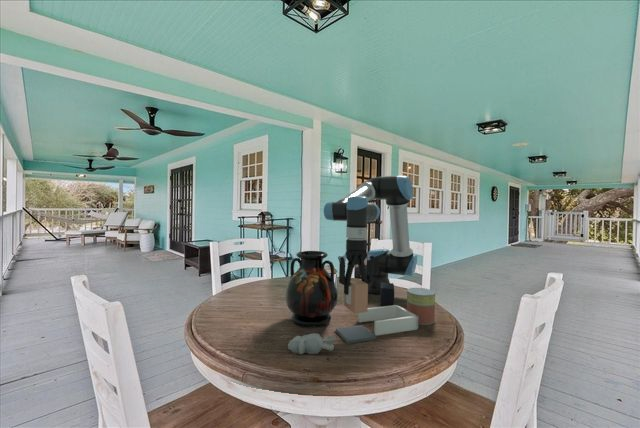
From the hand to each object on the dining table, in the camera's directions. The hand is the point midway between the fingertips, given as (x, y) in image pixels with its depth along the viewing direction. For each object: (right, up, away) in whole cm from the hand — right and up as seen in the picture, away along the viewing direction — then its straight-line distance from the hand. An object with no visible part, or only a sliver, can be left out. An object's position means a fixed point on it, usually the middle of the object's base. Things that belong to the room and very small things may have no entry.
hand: (355, 302), depth 111 cm
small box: (+19, -12, +32) cm, 39 cm away
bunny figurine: (-16, -13, -12) cm, 23 cm away
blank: (0, -2, 0) cm, 2 cm away
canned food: (+29, -12, +17) cm, 36 cm away
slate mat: (0, -12, 0) cm, 12 cm away
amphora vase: (-17, -12, +14) cm, 25 cm away
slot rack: (+14, -12, +10) cm, 21 cm away
